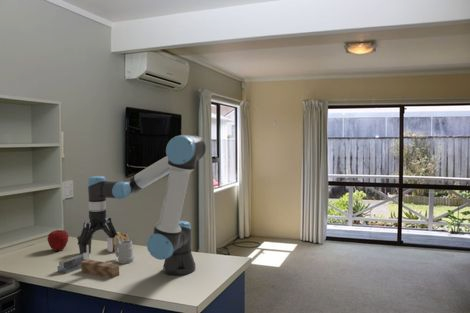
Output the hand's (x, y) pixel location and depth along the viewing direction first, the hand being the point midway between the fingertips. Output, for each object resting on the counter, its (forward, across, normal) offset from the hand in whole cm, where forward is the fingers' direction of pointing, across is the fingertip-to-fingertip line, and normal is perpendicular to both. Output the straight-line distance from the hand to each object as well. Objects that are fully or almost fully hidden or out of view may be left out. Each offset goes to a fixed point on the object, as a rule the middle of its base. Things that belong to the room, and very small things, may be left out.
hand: (98, 255), depth 178 cm
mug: (+9, -18, -3) cm, 20 cm away
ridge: (+9, +1, -16) cm, 19 cm away
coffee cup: (+9, -17, -31) cm, 37 cm away
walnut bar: (+9, 0, +1) cm, 9 cm away
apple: (+10, -14, -50) cm, 53 cm away
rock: (+9, -31, -20) cm, 38 cm away
